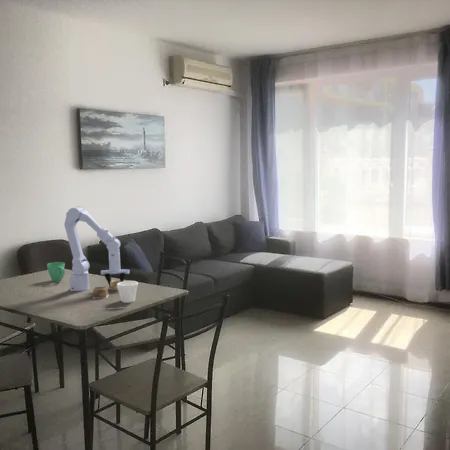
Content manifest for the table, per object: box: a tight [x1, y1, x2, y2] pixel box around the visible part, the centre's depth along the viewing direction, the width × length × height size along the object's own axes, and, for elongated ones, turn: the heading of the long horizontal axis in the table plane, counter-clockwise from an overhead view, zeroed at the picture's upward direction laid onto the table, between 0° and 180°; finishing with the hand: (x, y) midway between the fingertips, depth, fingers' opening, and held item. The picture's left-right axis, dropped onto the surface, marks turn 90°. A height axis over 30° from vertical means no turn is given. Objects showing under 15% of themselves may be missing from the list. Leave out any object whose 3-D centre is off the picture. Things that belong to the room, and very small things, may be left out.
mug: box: [46, 261, 66, 283], centre depth 291 cm, size 15×10×10 cm
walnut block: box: [92, 286, 109, 299], centre depth 254 cm, size 6×6×4 cm
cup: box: [117, 280, 139, 304], centre depth 244 cm, size 10×10×9 cm
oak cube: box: [109, 279, 120, 291], centre depth 268 cm, size 5×5×5 cm
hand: (116, 287), depth 268 cm, fingers closed on oak cube, 5 cm apart
